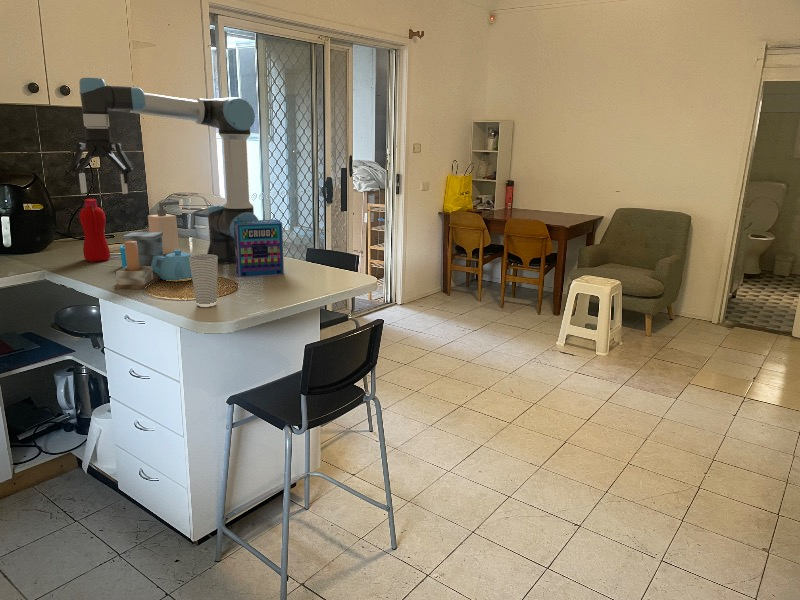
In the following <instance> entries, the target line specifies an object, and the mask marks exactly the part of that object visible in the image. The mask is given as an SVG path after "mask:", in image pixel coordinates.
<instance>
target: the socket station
mask: <svg viewBox="0 0 800 600" xmlns="http://www.w3.org/2000/svg"><path fill="white" fill-rule="evenodd" d="M162 236H163V233H156V232H149V231H147V232H146V231H145V232H144V231H131V232H129V233H126V234H124V235H122V240H128V241H137V248H138V256H139V264H140V271H128V269H127V266H126V267H124V268H120V269H118V270H116V271H115V277H116V278H115V279H116V284H115V285H114V289H117V290H118V289H119V290H127V289H128V290H145V289H146V288H145V287H146V286H148V285H149V284H151V283H153V282H154V283H156V282H157V281H159V280H161V279H162V278H161V277H160V276H159V275H158V274H157V273H156V272H154V271H153V268H152V266H151V264H152V260H153V256H154V255H155V256H162V257H164V254H163V246H162ZM161 263H162V261H161V260H157V263H156V266H157V267H159V268H160V265H161ZM158 279H159V280H158ZM155 281H156V282H155ZM154 283H153V284H154ZM151 285H152V284H151ZM148 287H149V286H148ZM144 288H145V289H144Z"/></svg>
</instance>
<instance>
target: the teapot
mask: <svg viewBox="0 0 800 600" xmlns="http://www.w3.org/2000/svg"><path fill="white" fill-rule="evenodd" d="M190 256H192V255H191V254H190V253H188V252H183V250H182V249H179V250H174V253H169V254H165V256H163V257H162V256H155V255H154V256H153V260H152V264H151V266H152V268H153V271H154V272H156V273H157V274H158V275H159V276H160V277H161V278H160V279H161V280H163V281H164V280H179V279H187V278H192V275H191V269H190V263H189V257H190ZM157 260H161V261H162V263H161V265H160V268H159V267H157V266H156V263H157Z"/></svg>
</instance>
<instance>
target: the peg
mask: <svg viewBox="0 0 800 600" xmlns="http://www.w3.org/2000/svg"><path fill="white" fill-rule="evenodd" d="M123 243H124V244H123V245H124V246H125V254H126V261H127V269H128V271H140V264H139V256H138V248H137V241H133V240H127V241H124V242H123Z"/></svg>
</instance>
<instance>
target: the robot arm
mask: <svg viewBox="0 0 800 600" xmlns="http://www.w3.org/2000/svg"><path fill="white" fill-rule="evenodd" d="M79 95H80V101H81V109H82V119H83V126H84V127H85V128H84V134H85V135H84V136H85V141H86V143H84V142H76V144H75V145H76V148H75V152H74V154H73V158H72V160H71V164H70V165H69V168H68V170H69V171H70V172H73V173H75V175H76V182H77V183H78V184H79V187H80V194H86V193H88V188H87V181H86V180H87V179H86V173H85V172H84V170H85V169H86V167H87V166H88V165H89V163H90V162H91V161H92V159H94V158H99V157H100V158H107V159H109V160H110V161H111V162H112V164H113V165H115V166H116V167H117V169H119V171H120V172H121V174H120V175H119V176H120V183H121V190H122V191H121V192H122V195H126V194H128V193H129V191H128V190H129V189H128V184H130V173H133V172H134V171H135V169H134V167H133V164H132V163H131V161H130V160H129V158H128V157H127V155H126V153H125V151H124V150H123V146H122V143H119V142H117V143H114V144H113V143H112V135H111V130H110V128H109V127H110V118H109V112H121V113H131V114H132V113H133V114H140V115H148V116H152V117H153V116H154V117H162V118H168V119H169V118H171V119H176V120H177V119H178V120H185V121H186V120H187V121H192V122H193V121H194V123H195V124H197V125H203V126H208V127H211V128H215V129H218V135H219V137H221V138H222V139H223V141H222V142H223V155H224V174H225V176H224V177H225V190H226V191H225V194H226V203H224V204H223V205H211V206H209V207H208V208H207V221H208V235H209V244H208V248H207V252H206V254H212V255H216V256H218V264H234V263H236V257H235V239H234V221H249V220H259V218H258V217H257V216H256V214H255V211H254V204H252V203H251V202H250V188H249V168H248V147H247V146H248V145H247V139H248V138H249V137H250V136H251V128H252V126H253V125H254V123H255V120H256V115H255V110H254V108H253V106H252V104H250V102H248V101H247V100H246V99H244V98H241V97H236V96H234V97H233V96H230V97H222V98H221V97H220V98H211V99H209V98H208V99H207V98H201V97H200V98H199V97H198V98H196V99H195V100H194V99H188V98H181V97H176V96H175V97H173V96H169V95H167V96H166V95H160V94H155V93H147V92H144V90H143V89H142V88H140V87H133V86H121V85H120V86H119V85H116V86H115V85H108V84H107V85H106V82H105V80H104V79H103V78H101V77H99V78H98V77H81V78H80V79H79ZM85 149H86V150H87V153H86V154H85V156H84V158H83V159H82V161H81V158H82V156H83V153H84V150H85ZM113 149H114V151H116V153H117V155H118V156H119V158H120V160H121V161H120V160H119V158H118V157H116V155H115V154H114V153H113V151H112V150H113ZM80 161H81V162H80Z"/></svg>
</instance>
